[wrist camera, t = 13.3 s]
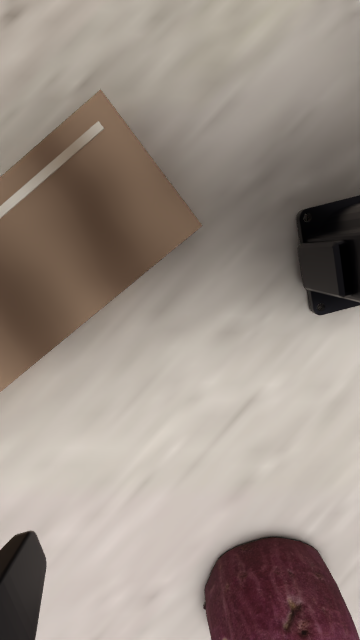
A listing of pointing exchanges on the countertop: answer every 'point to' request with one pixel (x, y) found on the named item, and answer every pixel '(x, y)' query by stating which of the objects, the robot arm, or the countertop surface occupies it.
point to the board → (78, 230)
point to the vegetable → (275, 595)
